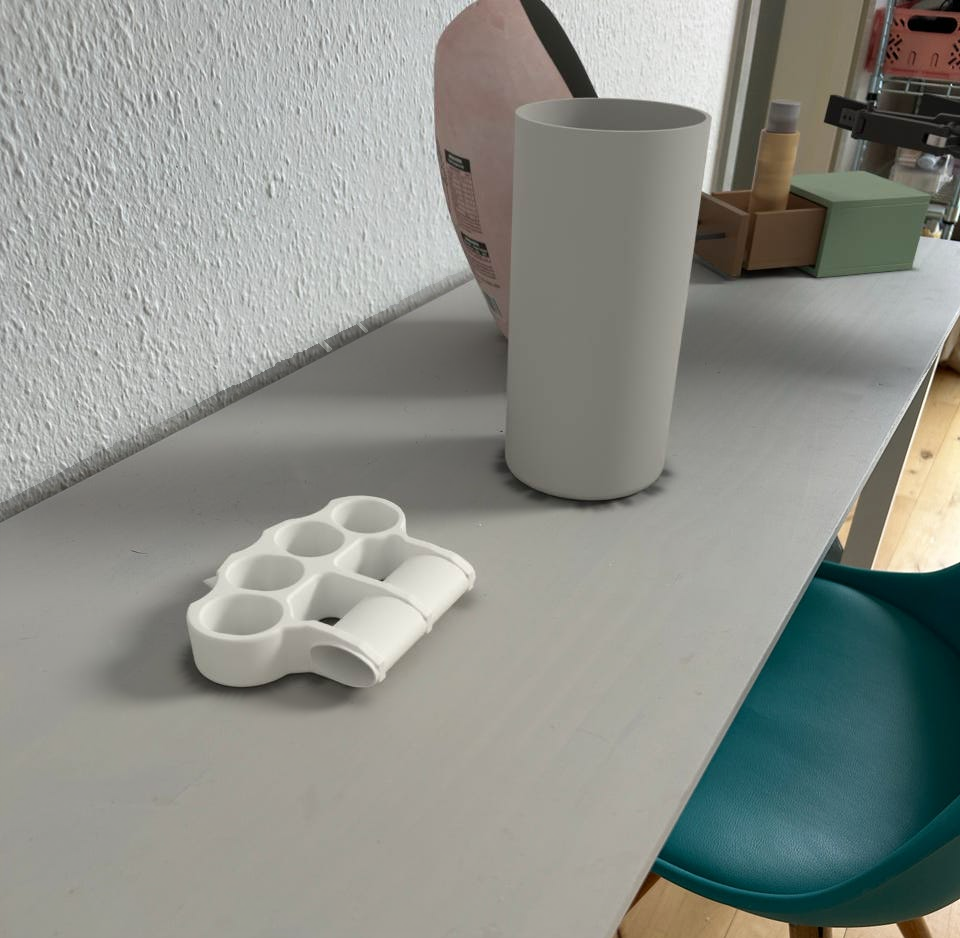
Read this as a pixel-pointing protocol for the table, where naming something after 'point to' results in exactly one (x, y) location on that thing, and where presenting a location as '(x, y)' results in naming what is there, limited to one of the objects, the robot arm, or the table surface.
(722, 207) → the drawer
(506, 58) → the packaged food
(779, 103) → the salt mill
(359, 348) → the table surface
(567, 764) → the table surface
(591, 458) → the cylinder vase
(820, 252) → the cabinet
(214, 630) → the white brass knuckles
